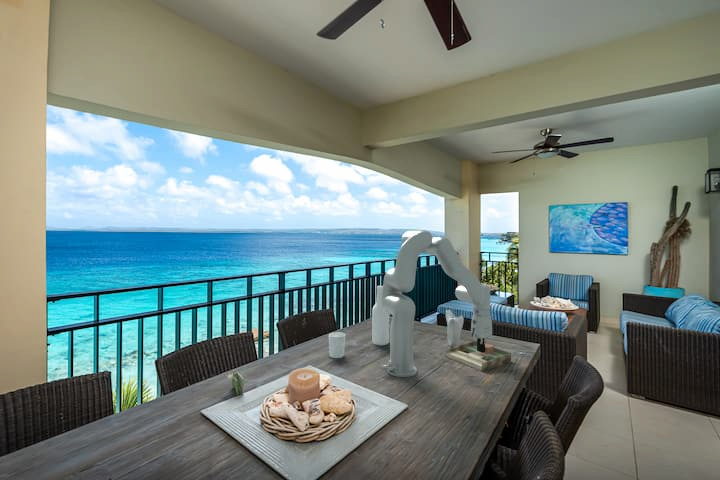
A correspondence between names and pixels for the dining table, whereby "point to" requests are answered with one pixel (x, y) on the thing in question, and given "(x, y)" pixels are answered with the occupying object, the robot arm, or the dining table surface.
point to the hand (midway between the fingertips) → (480, 351)
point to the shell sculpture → (453, 328)
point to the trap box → (478, 356)
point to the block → (489, 349)
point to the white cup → (336, 344)
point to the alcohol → (380, 321)
